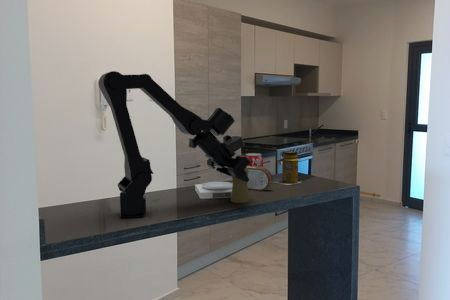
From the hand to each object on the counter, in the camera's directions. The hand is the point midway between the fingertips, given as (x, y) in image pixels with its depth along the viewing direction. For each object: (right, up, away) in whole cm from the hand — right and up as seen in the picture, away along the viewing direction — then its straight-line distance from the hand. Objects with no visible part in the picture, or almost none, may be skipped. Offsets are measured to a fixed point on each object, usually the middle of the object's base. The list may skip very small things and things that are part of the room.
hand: (243, 179), depth 130 cm
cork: (-1, -7, 0) cm, 7 cm away
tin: (+4, -5, +17) cm, 18 cm away
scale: (-8, -5, +11) cm, 15 cm away
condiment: (+19, -3, +29) cm, 35 cm away
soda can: (+5, -4, +22) cm, 23 cm away
